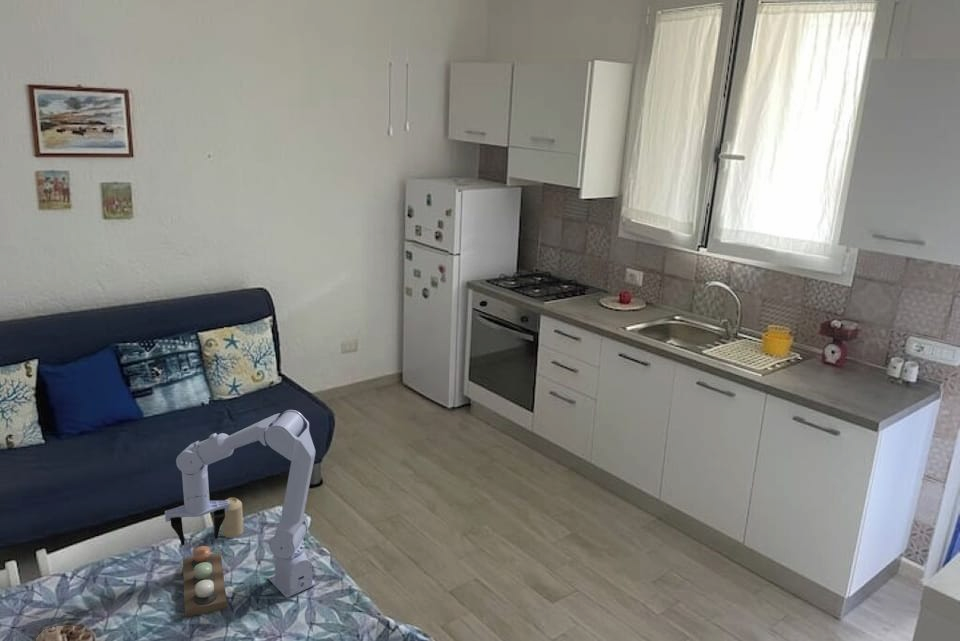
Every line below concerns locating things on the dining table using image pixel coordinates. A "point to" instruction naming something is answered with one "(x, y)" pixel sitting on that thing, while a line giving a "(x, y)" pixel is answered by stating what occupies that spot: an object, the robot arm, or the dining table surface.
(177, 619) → the dining table surface
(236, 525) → the candle
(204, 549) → the button terracotta
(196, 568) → the button sage
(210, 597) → the button panel
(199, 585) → the button cream
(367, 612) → the dining table surface
